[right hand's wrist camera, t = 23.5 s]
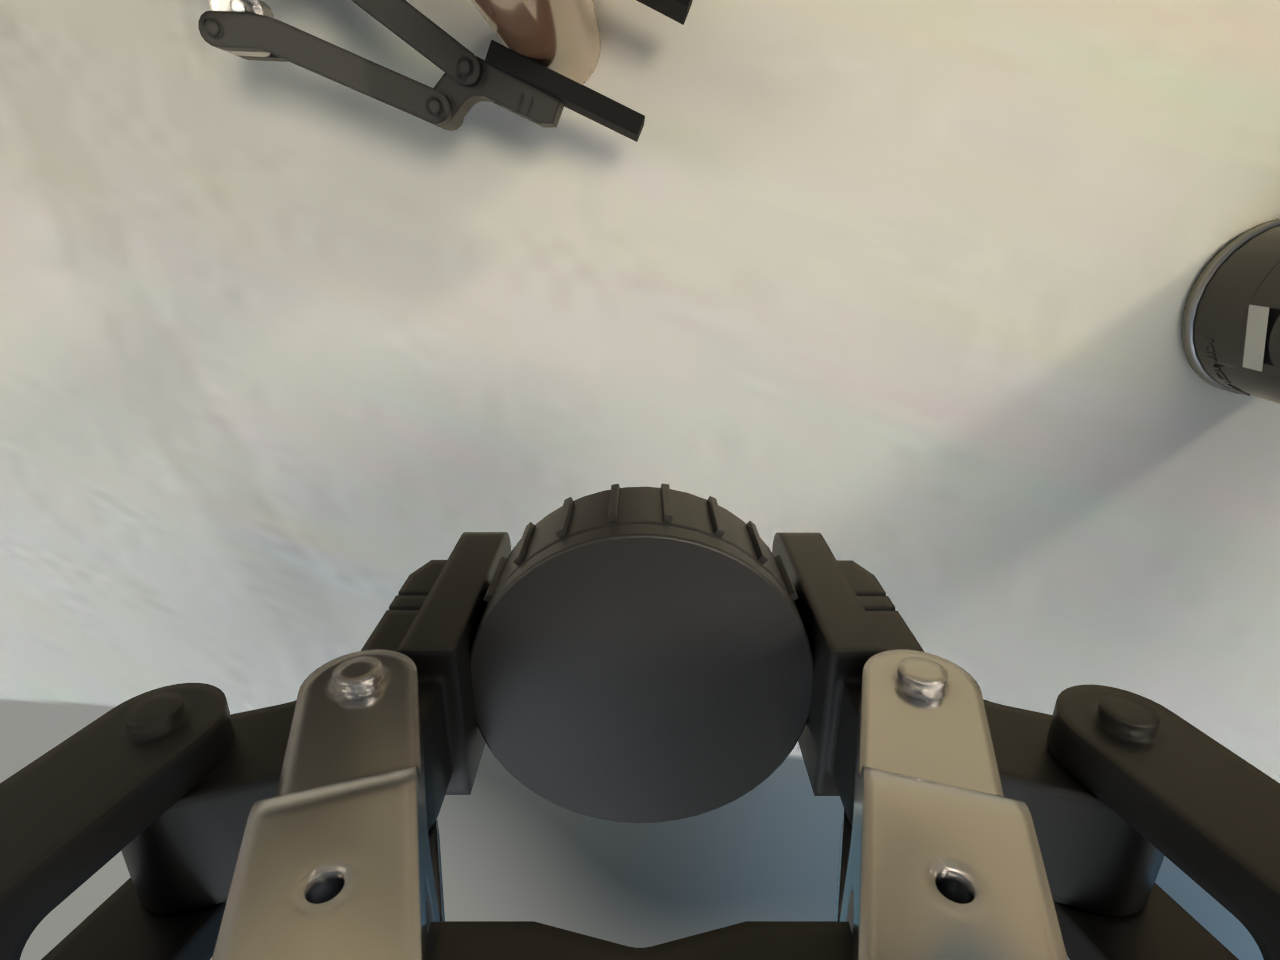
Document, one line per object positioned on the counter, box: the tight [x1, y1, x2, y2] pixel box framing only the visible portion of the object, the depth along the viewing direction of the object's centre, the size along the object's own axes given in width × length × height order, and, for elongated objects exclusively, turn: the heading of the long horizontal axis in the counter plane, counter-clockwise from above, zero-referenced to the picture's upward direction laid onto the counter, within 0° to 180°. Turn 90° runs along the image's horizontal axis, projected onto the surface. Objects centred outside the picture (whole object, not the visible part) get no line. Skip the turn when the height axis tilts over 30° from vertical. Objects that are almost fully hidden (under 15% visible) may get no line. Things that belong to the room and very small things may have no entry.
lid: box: [470, 484, 814, 823], centre depth 10 cm, size 5×5×2 cm
